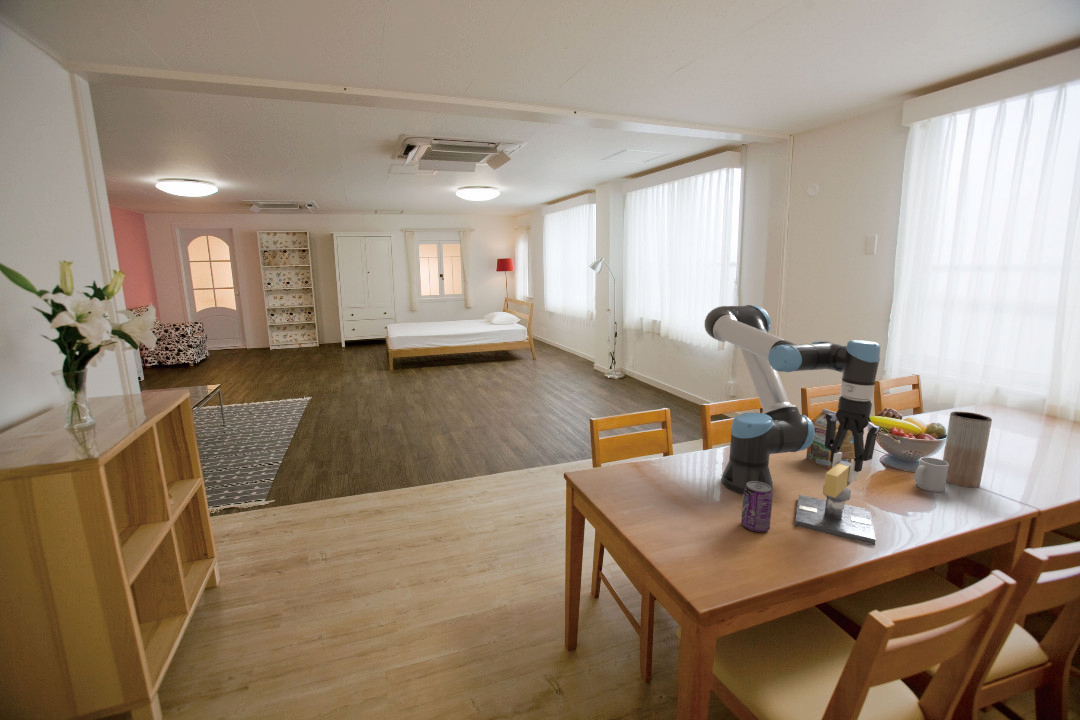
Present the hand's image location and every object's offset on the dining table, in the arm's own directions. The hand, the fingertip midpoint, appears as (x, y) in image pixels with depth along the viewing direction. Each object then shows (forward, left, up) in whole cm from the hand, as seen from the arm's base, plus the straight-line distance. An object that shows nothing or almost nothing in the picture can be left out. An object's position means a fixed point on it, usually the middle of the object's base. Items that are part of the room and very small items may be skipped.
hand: (843, 477), depth 132 cm
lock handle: (-1, -4, -4) cm, 6 cm away
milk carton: (-2, +44, -12) cm, 45 cm away
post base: (-1, -4, -12) cm, 12 cm away
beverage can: (-20, -19, -12) cm, 30 cm away
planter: (+35, +47, -12) cm, 60 cm away
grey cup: (+25, +35, -12) cm, 45 cm away
